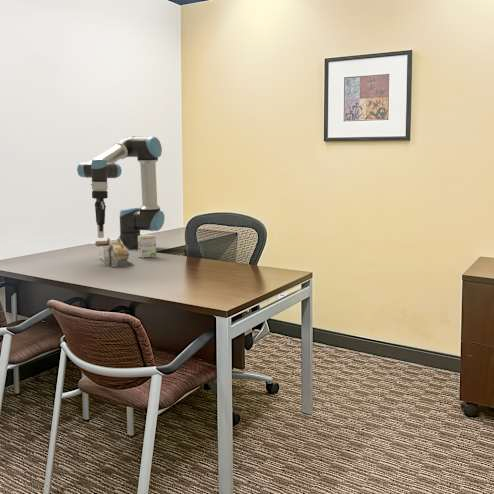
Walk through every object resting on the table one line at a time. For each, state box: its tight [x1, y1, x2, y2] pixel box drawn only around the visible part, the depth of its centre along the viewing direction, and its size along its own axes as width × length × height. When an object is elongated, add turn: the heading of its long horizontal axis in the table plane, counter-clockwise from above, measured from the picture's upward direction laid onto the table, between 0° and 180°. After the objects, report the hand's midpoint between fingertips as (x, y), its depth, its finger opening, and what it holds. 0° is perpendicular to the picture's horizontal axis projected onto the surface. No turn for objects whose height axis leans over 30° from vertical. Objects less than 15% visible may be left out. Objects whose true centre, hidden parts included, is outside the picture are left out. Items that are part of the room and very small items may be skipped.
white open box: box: [98, 246, 116, 262], centre depth 293 cm, size 9×10×6 cm
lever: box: [95, 236, 130, 260], centre depth 278 cm, size 18×12×3 cm, turn 28°
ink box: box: [137, 234, 157, 258], centre depth 299 cm, size 9×5×12 cm, turn 122°
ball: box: [118, 248, 125, 254], centre depth 274 cm, size 4×4×4 cm
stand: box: [102, 246, 135, 269], centre depth 279 cm, size 17×11×8 cm, turn 28°
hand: (100, 237), depth 281 cm, fingers closed
